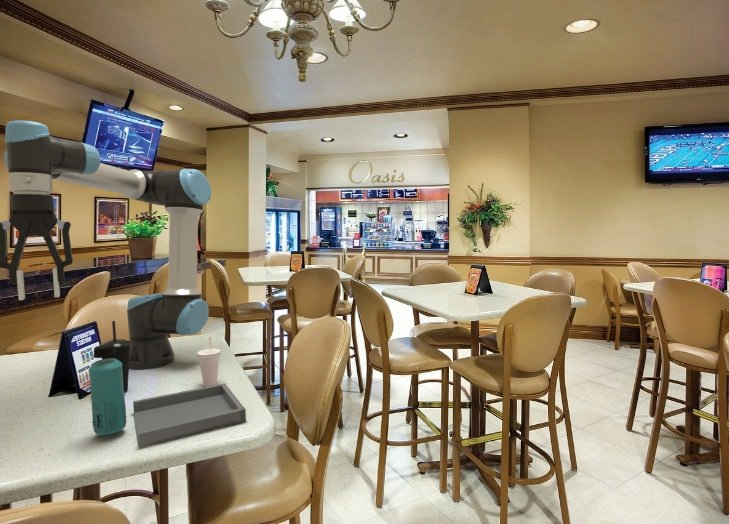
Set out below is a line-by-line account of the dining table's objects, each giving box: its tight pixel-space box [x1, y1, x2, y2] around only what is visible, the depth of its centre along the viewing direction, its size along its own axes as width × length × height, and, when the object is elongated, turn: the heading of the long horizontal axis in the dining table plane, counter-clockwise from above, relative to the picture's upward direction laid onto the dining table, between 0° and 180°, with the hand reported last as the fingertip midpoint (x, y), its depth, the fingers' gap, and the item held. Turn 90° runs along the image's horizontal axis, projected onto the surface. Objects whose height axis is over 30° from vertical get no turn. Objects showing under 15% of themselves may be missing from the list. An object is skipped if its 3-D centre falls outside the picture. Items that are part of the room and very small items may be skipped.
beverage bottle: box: [88, 344, 128, 436], centre depth 93 cm, size 6×7×20 cm
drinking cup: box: [98, 320, 131, 394], centre depth 118 cm, size 8×8×20 cm
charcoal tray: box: [132, 382, 247, 449], centre depth 102 cm, size 20×22×3 cm
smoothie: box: [196, 336, 221, 387], centre depth 123 cm, size 6×6×14 cm
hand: (39, 297), depth 96 cm, fingers open, 6 cm apart
